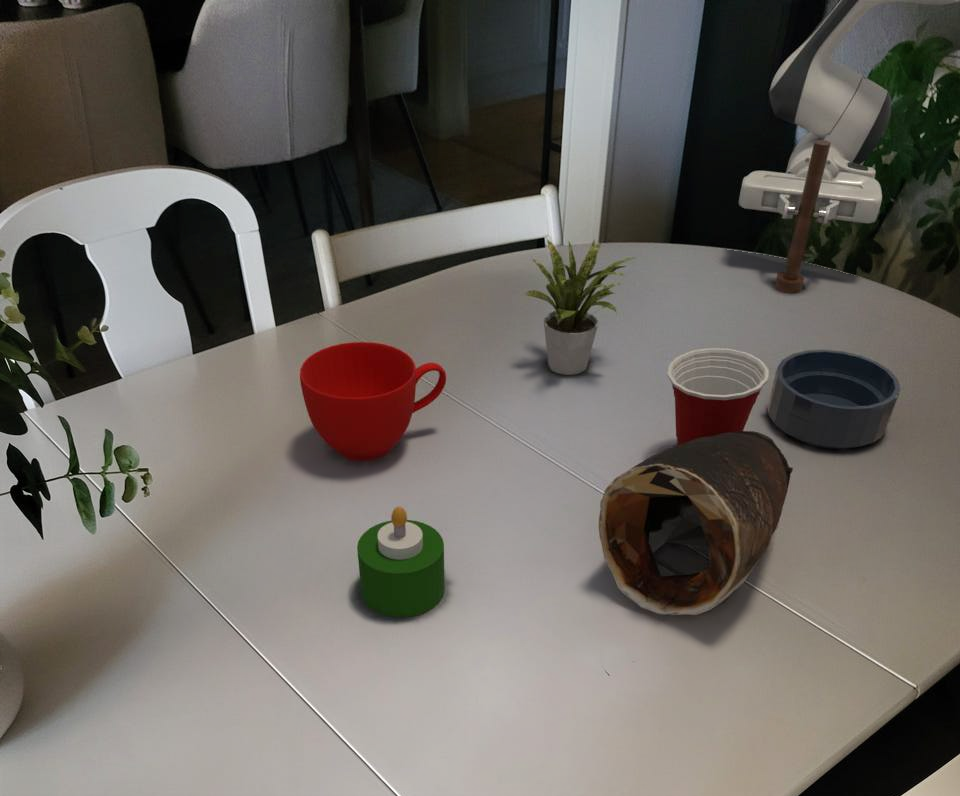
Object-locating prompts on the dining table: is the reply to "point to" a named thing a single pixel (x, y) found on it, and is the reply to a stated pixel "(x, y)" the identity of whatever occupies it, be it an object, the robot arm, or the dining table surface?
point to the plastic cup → (714, 391)
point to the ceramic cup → (363, 396)
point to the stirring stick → (804, 220)
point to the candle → (401, 566)
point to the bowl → (832, 398)
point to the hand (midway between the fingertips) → (805, 215)
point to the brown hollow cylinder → (694, 518)
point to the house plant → (573, 309)
